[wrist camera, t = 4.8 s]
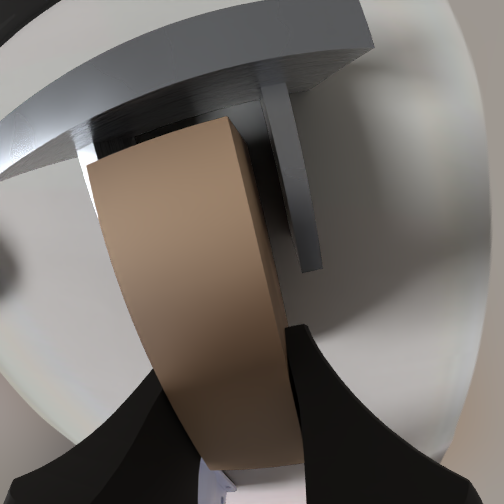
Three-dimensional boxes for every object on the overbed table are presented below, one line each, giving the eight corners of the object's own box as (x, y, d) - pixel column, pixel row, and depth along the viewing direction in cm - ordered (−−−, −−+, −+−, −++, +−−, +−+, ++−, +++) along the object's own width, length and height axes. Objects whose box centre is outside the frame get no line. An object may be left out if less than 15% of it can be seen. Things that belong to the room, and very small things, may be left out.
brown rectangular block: (296, 368, 12) (307, 462, 7) (228, 378, 12) (210, 470, 7) (246, 144, 10) (227, 115, 5) (165, 167, 10) (85, 165, 5)
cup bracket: (335, 225, 11) (402, 324, 5) (137, 268, 12) (67, 371, 6) (301, 63, 8) (356, -7, 3) (90, 128, 9) (-31, 149, 4)
